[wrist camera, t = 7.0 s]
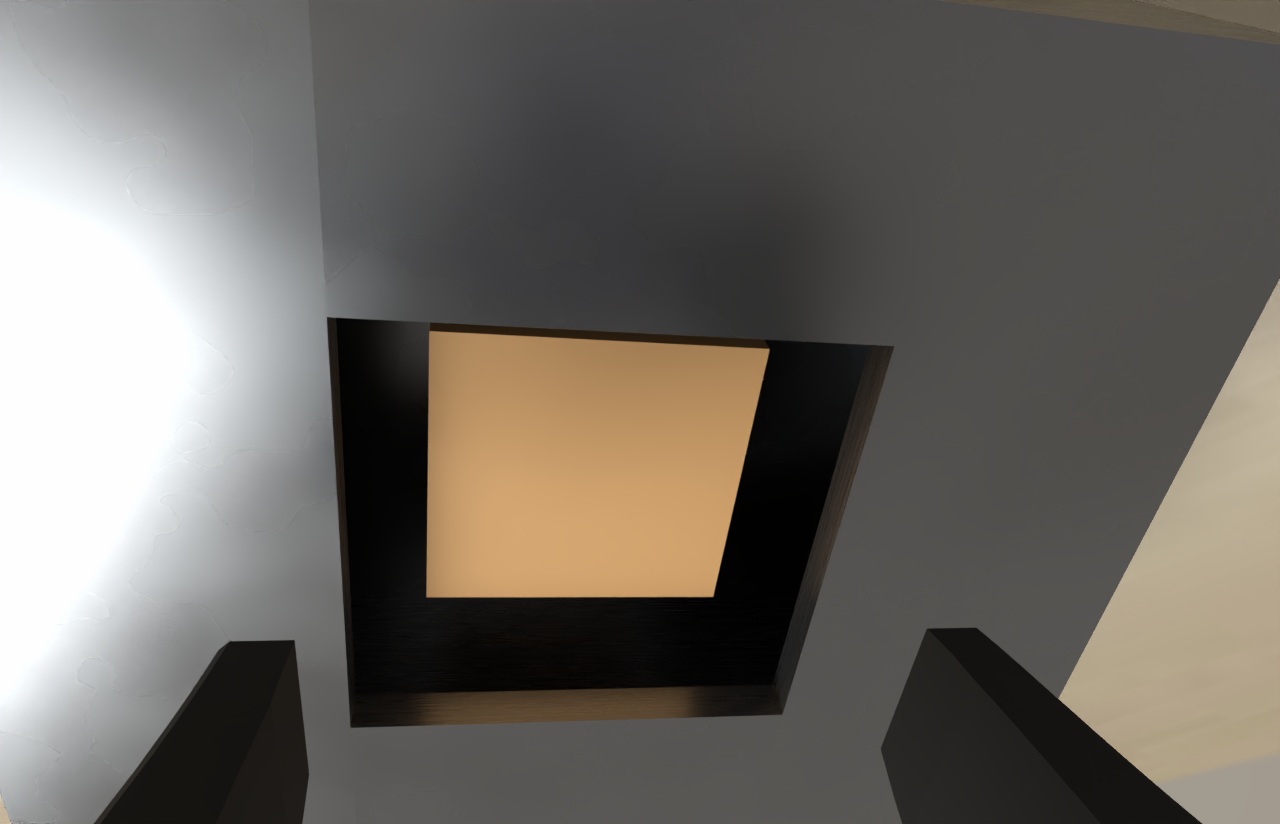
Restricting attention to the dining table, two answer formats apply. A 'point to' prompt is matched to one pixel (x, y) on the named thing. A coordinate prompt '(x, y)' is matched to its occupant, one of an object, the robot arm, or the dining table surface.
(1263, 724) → the dining table surface
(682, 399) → the block
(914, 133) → the grey box with hole
